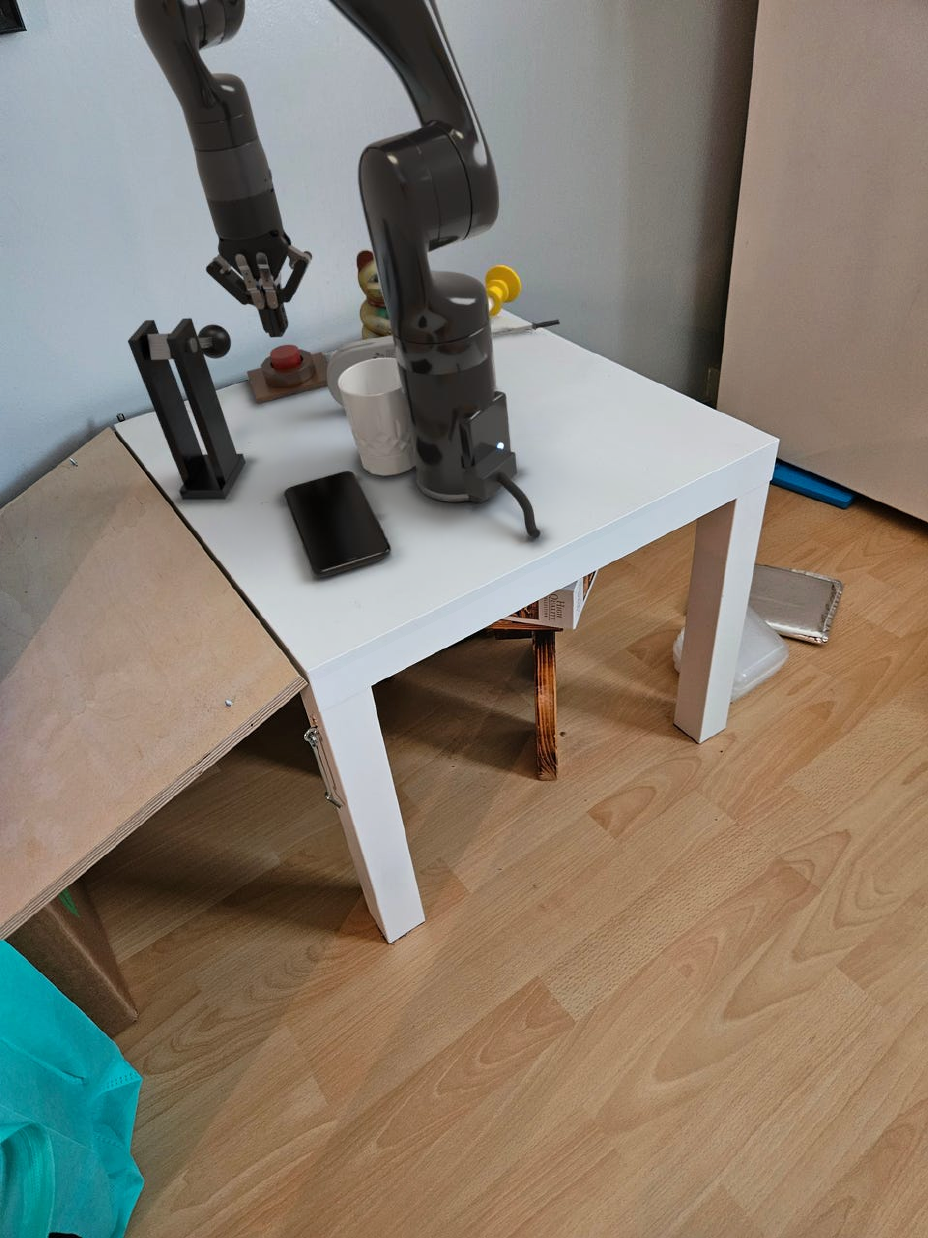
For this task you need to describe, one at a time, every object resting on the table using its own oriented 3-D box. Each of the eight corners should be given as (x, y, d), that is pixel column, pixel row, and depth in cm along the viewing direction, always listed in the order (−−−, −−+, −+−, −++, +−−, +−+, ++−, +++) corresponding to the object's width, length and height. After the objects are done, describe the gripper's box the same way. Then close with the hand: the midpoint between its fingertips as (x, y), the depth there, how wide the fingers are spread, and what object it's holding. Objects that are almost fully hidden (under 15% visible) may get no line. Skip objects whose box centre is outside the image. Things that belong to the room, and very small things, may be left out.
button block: (322, 356, 120) (318, 338, 118) (336, 382, 114) (332, 364, 112) (248, 376, 118) (242, 358, 116) (258, 403, 112) (253, 385, 110)
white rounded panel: (335, 418, 107) (319, 353, 102) (334, 409, 109) (319, 344, 103) (497, 390, 108) (490, 324, 102) (494, 381, 109) (487, 316, 104)
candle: (528, 285, 122) (482, 346, 113) (506, 308, 126) (459, 368, 117) (501, 256, 121) (451, 315, 112) (479, 280, 125) (429, 339, 116)
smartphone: (282, 494, 97) (315, 582, 85) (280, 487, 96) (313, 575, 85) (353, 474, 98) (395, 557, 87) (352, 467, 97) (393, 550, 86)
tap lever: (208, 358, 102) (204, 324, 101) (238, 356, 102) (234, 323, 101) (145, 366, 89) (139, 328, 88) (179, 365, 89) (173, 326, 87)
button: (298, 354, 116) (295, 341, 115) (304, 366, 113) (300, 353, 112) (271, 361, 115) (267, 349, 114) (276, 373, 113) (272, 360, 112)
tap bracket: (200, 463, 103) (145, 314, 91) (250, 462, 102) (201, 311, 90) (177, 499, 99) (116, 347, 86) (229, 499, 97) (175, 344, 85)
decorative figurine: (380, 378, 113) (356, 258, 103) (355, 354, 118) (331, 237, 108) (449, 355, 115) (433, 235, 105) (422, 332, 121) (404, 216, 111)
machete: (456, 347, 118) (456, 344, 118) (454, 340, 119) (454, 337, 119) (560, 326, 119) (560, 323, 118) (557, 319, 119) (557, 316, 119)
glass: (439, 444, 101) (427, 361, 94) (407, 484, 96) (391, 399, 89) (378, 434, 104) (361, 353, 97) (343, 473, 99) (323, 390, 92)
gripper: (169, 202, 98) (217, 351, 110) (285, 192, 96) (322, 346, 107) (194, 179, 104) (237, 323, 115) (304, 169, 101) (337, 317, 113)
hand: (278, 334), depth 111 cm, fingers closed
